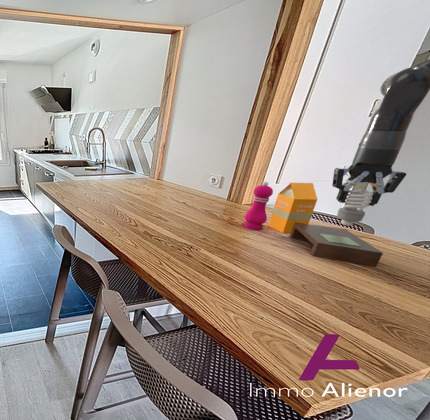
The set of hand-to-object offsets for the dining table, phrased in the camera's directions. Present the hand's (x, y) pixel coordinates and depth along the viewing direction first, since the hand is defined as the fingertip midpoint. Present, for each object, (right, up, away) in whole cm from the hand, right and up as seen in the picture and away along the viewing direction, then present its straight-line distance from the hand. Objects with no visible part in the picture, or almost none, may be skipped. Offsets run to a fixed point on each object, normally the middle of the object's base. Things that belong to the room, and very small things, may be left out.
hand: (355, 203), depth 75 cm
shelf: (+2, -16, +9) cm, 19 cm away
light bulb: (0, -7, +3) cm, 8 cm away
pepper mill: (-8, -10, +29) cm, 32 cm away
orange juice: (+5, -11, +27) cm, 30 cm away
